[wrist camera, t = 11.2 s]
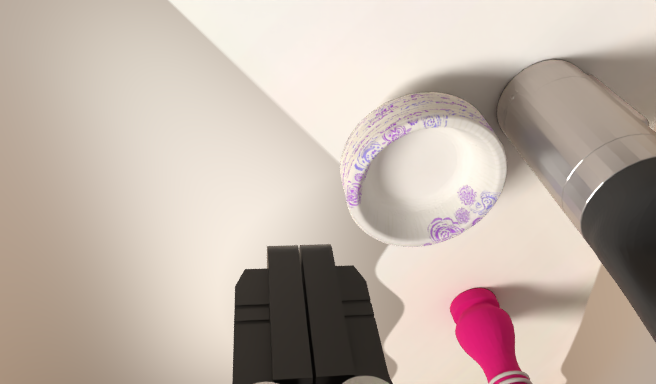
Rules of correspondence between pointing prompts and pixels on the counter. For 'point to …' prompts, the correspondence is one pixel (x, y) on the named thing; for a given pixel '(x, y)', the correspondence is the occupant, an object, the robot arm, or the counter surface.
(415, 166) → the paper bowls
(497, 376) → the pepper mill
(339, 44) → the counter surface
